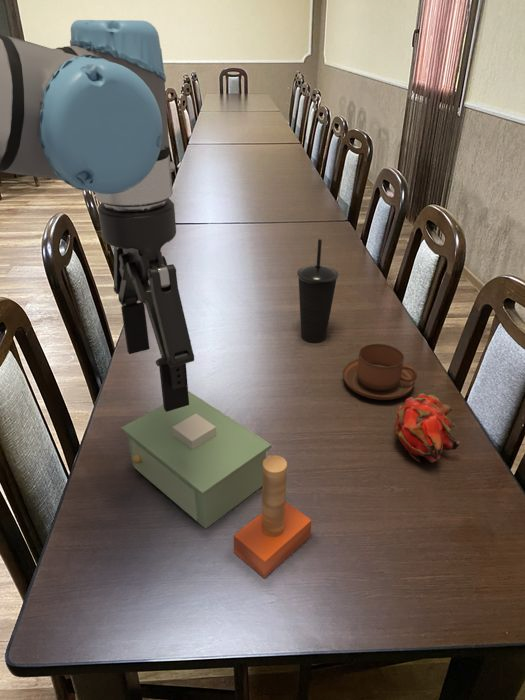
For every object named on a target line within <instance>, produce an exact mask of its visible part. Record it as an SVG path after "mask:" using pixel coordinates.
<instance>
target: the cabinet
mask: <svg viewBox="0 0 525 700" xmlns="http://www.w3.org/2000/svg"><path fill="white" fill-rule="evenodd" d="M188 396H189V405H187V406H184V407H181V408H178V409H174V410H171V411H168V412H166V411H165V409H164V405H163V404H162V405H161V406H158V407H157V408H154V409H153V410H151V411H148V412H147V413H146V414H143V415H141V416H140V417H138V418H136V419H134V420H132V421H130V422H129V423H127V424H125V425H123V426H121V427H120V430H121V432H122V433H123V434H125V435H126V436H127V439H128V445H129V453H130V457H131V464H132V467H133V468H134V469H135V470H137V472H139V473H140V474H141V475H142V476H143V477H144V478H145V479H147V480H148V481H149V482H150V483H151V484H153V485H154V486H155V487H156V488H157V489H159V490H160V491H161V492H162V493H163V494H164V495H166V496H167V497H168V498H169V499H170V500H171V501H172V502H174V504H176V505H177V506H178V507H180V508H181V509H182V510H183V511H184V512H185V513H187V514H188V515H189V516H190V517H191V518H192V519H194V521H196V522H197V523H198V524H199V525H200V526H202V527H203V528H204V529H205V530H206V529H208V528H209V527H211V525H213V524H215V523H216V522H217V521H218V520H220V519H221V518H223V517H224V516H225V515H227V513H229V512H230V511H231V510H233V509H234V508H235V507H237V506H238V505H240V504H241V503H242V502H243V501H245V500H246V499H248V498H249V497H250V496H251V495H253V494H254V493H255V492H256V491H258V490H259V489H261V488H262V476H263V461H264V459H265V458H267V452H268V451H269V450H271V449H272V444H271V443H270V442H268V441H267V440H265V439H264V438H262V437H261V436H259V435H257V434H256V433H255V432H253V431H252V430H250V429H248V428H247V427H245V426H244V425H242V424H241V423H239V422H238V421H235V419H233V418H231V417H229V416H228V415H226V413H223V412H222V411H220V410H219V409H217V408H216V407H214V406H212V405H211V404H209V403H208V402H206V401H205V400H203V399H202V398H200V397H199V396H197V395H196V394H194V393H193V392H191V391H189V390H188ZM194 414H198V415H199V416H201V417H202V418H204V419H205V420H207V421H208V422H210V423H211V424H213V425H214V426H216V436H215V437H213V438H212V439H210V440H208V441H207V442H205V443H204V444H202V445H200V446H199V447H197V448H196V449H194V450H192V449H191V448H189V447H188V446H187V445H185V444H184V443H182V442H181V441H180V440H178V439H177V438H176V437H174V436H173V428H172V427H173V426H175V425H177V424H178V423H180V422H182V421H184V420H185V419H187V418H189V417H191V416H192V415H194Z"/></svg>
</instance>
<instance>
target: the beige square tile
mask: <svg viewBox="0 0 525 700" xmlns="http://www.w3.org/2000/svg"><path fill="white" fill-rule="evenodd" d="M172 428H173V436H174V437H176V438H177V439H178V440H180V441H181V442H182V443H184V444H185V445H187V446H188V447H189V448H191V449H192V450H194V449H196V448H197V447H199V446H200V445H202V444H204V443H205V442H207V441H208V440H210V439H212V438H213V437H215V436H216V426H214V425H213V424H211V423H210V422H208V421H207V420H205V419H204V418H202V417H201V416H199V415H198V414H194V415H192V416H191V417H189V418H187V419H185V420H184V421H182V422H180V423H178V424H177V425H175V426H173V427H172Z"/></svg>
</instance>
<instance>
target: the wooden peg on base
mask: <svg viewBox="0 0 525 700" xmlns="http://www.w3.org/2000/svg"><path fill="white" fill-rule="evenodd" d="M287 475H288V462H287V460H286V459H285V458H284V457H283V456H280V455H277V454H276V455H275V454H273V455H269V456H266V458H265V459H264V461H263V476H262V487H261V488H262V490H261V491H262V492H261V494H262V495H261V513H260V514H258V515H257V516H256V517H255V518H253V519H252V520H251V521H250V522H248V523H247V524H246V525H244V527H242V528H240V529H239V530H238V531H237V532H236V533H234V534H233V554H235V555H236V556H238V558H240V559H241V560H242V561H243V562H244V563H246V564H247V565H248V566H249V567H250V568H252V570H254V572H256V573H257V574H258V575H260V576H261V577H262V578H263V579H266V578H267V577H268V576H270V575H271V574H272V573H273V572H274V571H275V570H276V569H277V568H278V567H279V566H280V565H282V563H283V562H285V561H286V560H287V559H288V558H289V557H290V556H291V555H292V554H293V553H294V552H296V551H297V550H298V549H299V548H300V547H301V546H302V545H303V544H304V543H305V542H306V541H308V540H309V539H310V538H311V534H312V533H311V530H312V522H313V521H312V519H311V518H310V517H308V516H307V515H305V514H304V513H302V512H301V511H300V510H298V509H297V508H295V507H294V506H292V505H291V504H290V503H289V502H287V501H286V499H287V494H286V493H287V477H288V476H287Z"/></svg>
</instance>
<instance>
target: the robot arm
mask: <svg viewBox="0 0 525 700" xmlns="http://www.w3.org/2000/svg"><path fill="white" fill-rule="evenodd" d="M163 60H164V59H163V52H162V48H161V41H160V35H159V32H158V30H157V28H156V27H155V26H154V25H153V24H152V23H151V22H149V21H146V20H135V19H133V20H132V19H131V20H130V19H129V20H128V19H127V20H125V19H124V20H116V19H113V20H109V19H108V20H107V19H105V20H104V19H76V20H75V21H73V22H72V24H71V25H70V40H69V46H68V45H67V46H62V47H56V48H52V47H51V48H50V47H47V46H45V45H41V44H37V43H34V42H30V41H27V40H23V39H20V38H16V37H13V36H7V35H3V34H0V172H2V173H8V174H13V175H20V176H29V177H38V178H43V179H51V180H57V181H62V182H64V183H65V184H67V185H69V186H70V187H72V188H74V189H75V190H78V191H79V190H80V191H83V192H84V191H85V192H87V191H89V192H93V193H94V195H95V199H96V200H97V201H98V202H99V203H100V204H99V206H98V207H97V213H98V218H99V219H98V220H99V224H100V233H101V237H102V239H103V241H104V243H106V244H107V245H109V246H111V247H113V291H114V293H115V294H116V295H118V302H119V303H120V305H123V306H120V308H121V316H122V323H123V329H124V336H125V343H126V350H127V354H128V355H133V354H136V353H140V352H145V351H148V350H150V339H149V332H148V325H147V316H146V311H147V314H148V317H149V321H150V325H151V328H152V331H153V335H154V337H155V340H156V344H157V347H158V350H159V353H160V358H158V359H156V360H155V365H156V366H157V367H158V368H159V377H160V386H161V394H162V395H161V396H162V402H163V403H162V405H164V409H165V411H166V412H168V411H171V410H174V409H178V408H181V407H184V406H187V405H189V396H188V391H189V384H188V373H187V371H188V370H187V364H189V363H193V362H195V354H194V351H193V347H192V346H193V345H192V342H191V338H190V333H189V329H188V325H187V321H186V317H185V312H184V307H183V303H182V300H181V299H182V298H181V295H180V290H179V284H178V275H177V268H176V266H175V265H174V264H173V263H172V264H171V263H170V264H168V262H167V260H166V257H165V256H164V255H163V252H162V251H161V250H162V248H163V246H164V245H166V244H167V243H170V242H171V241H173V239H175V237H176V235H177V224H176V222H177V221H176V213H175V212H176V210H175V203H174V202H173V201H172V199H171V197H172V196H173V194H174V191H173V180H172V172H174V171H175V170H176V164H175V163H174V162H173V161H171V155H170V154H171V152H170V139H169V138H170V137H169V124H168V112H167V111H168V110H167V96H166V82H167V77H166V74H165V68H164V61H163Z"/></svg>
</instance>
